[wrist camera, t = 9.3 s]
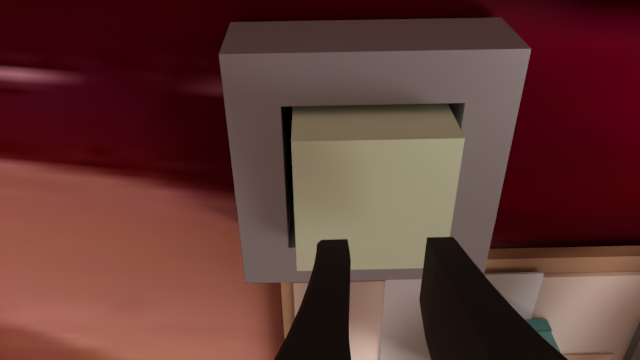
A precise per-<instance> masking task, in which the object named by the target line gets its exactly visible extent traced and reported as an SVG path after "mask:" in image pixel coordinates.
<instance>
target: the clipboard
mask: <svg viewBox="0 0 640 360" xmlns="http://www.w3.org/2000/svg"><path fill="white" fill-rule="evenodd" d="M484 275H485V276H486V278H487V279H488V280H489V281H490V282H491V283H492V285H493V286H494V287H495V288H496V289H497V290H498V291H499V292H500V294H501V295H502V296H503V297H504V298H505V299H506V300H507V301H508V302H509V304H510V305H511V306H512V307H513V308H514V309H515V310H516V311H517V312H518V313H519V314H520V315H521V316H522V317H523V318H524V319H547V320H548V323H549V325H550V327H551V329H552V335H553V337H554V339H555V341H556V344H557V346H558V348H559V350H560V352H561V354H562V355H563V356H564V357H566V358H567V359H568V360H640V246H599V247H554V248H509V249H489V253H488V258H487V263H486V268H485V272H484ZM421 282H422V279H408V280H364V281H350V306H349V343H350V353H351V360H431V357H430V354H429V350H428V347H427V343H426V339H425V333H424V327H423V321H422V315H421V308H420V302H419V298H420V290H421ZM308 283H309V282H281V296H282V311H283V325H284V340H285V338H286V336H287V334H288V332H289V330H290V328H291V326H292V323H293V321H294V319H295V317H296V314H297V312H298V310H299V308H300V305H301V303H302V300H303V297H304V294H305V292H306V289H307V286H308Z"/></svg>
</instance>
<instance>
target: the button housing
mask: <svg viewBox="0 0 640 360" xmlns="http://www.w3.org/2000/svg"><path fill="white" fill-rule="evenodd" d="M530 52H531V48H530V47H529V46H528V45H527V44H526V43H525V42H524V41H523V40H522V38H521V37H520V36H519V35H518V34H517V33H516V32H515V31H514V30H513V29H512V28H511V27H510V26H509V25H508V24H507V23H506V22H505V21H504V20H503V19H502V18H501V17H499V18H440V19H382V20H324V21H266V22H230V24H229V27H228V30H227V33H226V36H225V38H224V41H223V44H222V47H221V49H220V52H219V61H220V69H221V78H222V87H223V95H224V104H225V112H226V121H227V129H228V138H229V146H230V155H231V163H232V172H233V181H234V189H235V198H236V206H237V215H238V223H239V232H240V240H241V249H242V257H243V266H244V275H245V283H277V282H309V280H310V277H311V274H312V271H297V263H296V241H295V219H294V200H293V201H290V184H289V164H288V144H287V124H286V106H336V105H388V104H441V103H448V105H449V107H450V109H451V111H452V113H453V115H454V117H455V119H456V121H457V123H458V125H459V127H460V129H461V131H462V133H463V135H464V137H465V141H464V148H463V154H462V161H461V167H460V174H459V180H458V187H457V193H456V200H455V206H454V213H453V219H452V225H451V232H450V237H454V238H455V239H456V240H457V241H458V243H459V244H460V245H461V247H462V248H463V249H464V250H465V252H466V253H467V254H468V256H469V257H470V258H471V259H472V261H473V262H474V263H475V264H476V266H477V267H478V268H479V269H480V270H481V272H482V273H483V274H484V272H485V268H486V263H487V258H488V253H489V248H490V244H491V239H492V234H493V229H494V225H495V220H496V215H497V210H498V205H499V201H500V196H501V191H502V186H503V182H504V177H505V172H506V167H507V162H508V158H509V153H510V148H511V143H512V139H513V134H514V129H515V124H516V119H517V115H518V110H519V105H520V100H521V96H522V91H523V86H524V81H525V76H526V72H527V67H528V62H529V57H530ZM422 274H423V268H411V269H366V270H350V281H364V280H408V279H422Z"/></svg>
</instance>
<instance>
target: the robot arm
mask: <svg viewBox="0 0 640 360" xmlns="http://www.w3.org/2000/svg"><path fill="white" fill-rule="evenodd" d="M350 269H351V258H350V251H349V245H348V239H333V240H321V241H320V242H318V243H317V251H316V257H315V262H314V266H313V270H312V274H311V277H310V280H309V283H308V286H307V289H306V292H305V294H304V297H303V300H302V303H301V305H300V308H299V310H298V312H297V314H296V317H295V319H294V321H293V323H292V326H291V328H290V330H289V332H288V334H287V336H286V338H285V340H284V342H283V344H282V346H281V348H280V350H279V352H278V354H277V355H276V357H275V359H274V360H351V353H350V343H349V306H350ZM419 302H420V308H421V315H422V321H423V327H424V333H425V339H426V343H427V347H428V350H429V354H430V357H431V360H568V359H567V358H566V357H564V356H563V355H562V354H561V353H560V352H559V351H557V350H556V349H555V348H554V347H553V346H552V345H551V344H550V343H548V342H547V341H546V340H545V339H544V338H543V337H542V336H541V335H540V334H539V333H538V332H537V331H536V330H535V329H534V328H533V327H532V326H531V325H530V324H529V323H528V322H527V321H526V320H525V319H524V318H523V317H522V316H521V315H520V314H519V313H518V312H517V311H516V310H515V309H514V308H513V307H512V306H511V305H510V304H509V302H508V301H507V300H506V299H505V298H504V297H503V296H502V295H501V294H500V292H499V291H498V290H497V289H496V288H495V287H494V286H493V285H492V283H491V282H490V281H489V280H488V279H487V278H486V276H485V275H484V274H483V273H482V272H481V270H480V269H479V268H478V267H477V266H476V264H475V263H474V262H473V261H472V259H471V258H470V257H469V256H468V254H467V253H466V252H465V250H464V249H463V248H462V247H461V245H460V244H459V243H458V241H457V240H456V239H455V238H454V237H427V242H426V250H425V258H424V266H423V274H422V282H421V290H420V298H419Z"/></svg>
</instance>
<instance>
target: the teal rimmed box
mask: <svg viewBox="0 0 640 360" xmlns="http://www.w3.org/2000/svg"><path fill="white" fill-rule="evenodd" d="M525 320H526V321H527V322H528V323H529V324H530V325H531V326H532V327H533V328H534V329H535V330H536V331H537V332H538V333H539V334H540V335H541V336H542V337H543V338H544V339H545V340H546V341H547V342H548V343H550V344H551V345H552V346H553V347H554V348H555V349H556V350H557V351H559V352H560V350H559V348H558V346H557V344H556V341H555V339H554V337H553V335H552V329H551V327H550V325H549V323H548V320H547V319H525ZM560 353H561V352H560Z"/></svg>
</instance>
